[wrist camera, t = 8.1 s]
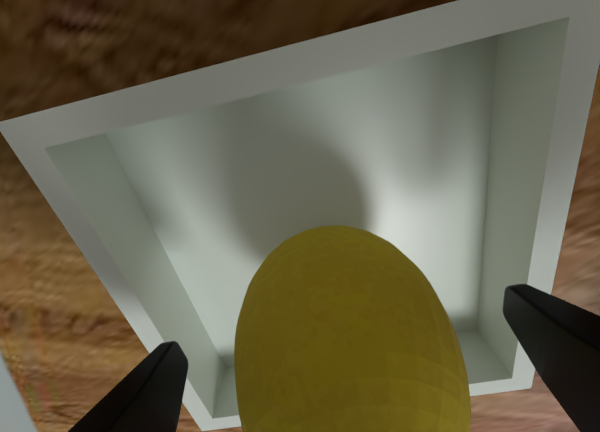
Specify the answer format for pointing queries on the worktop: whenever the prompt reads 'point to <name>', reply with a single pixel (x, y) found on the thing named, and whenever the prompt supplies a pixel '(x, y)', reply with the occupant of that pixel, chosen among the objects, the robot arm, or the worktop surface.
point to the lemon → (346, 341)
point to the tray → (332, 173)
